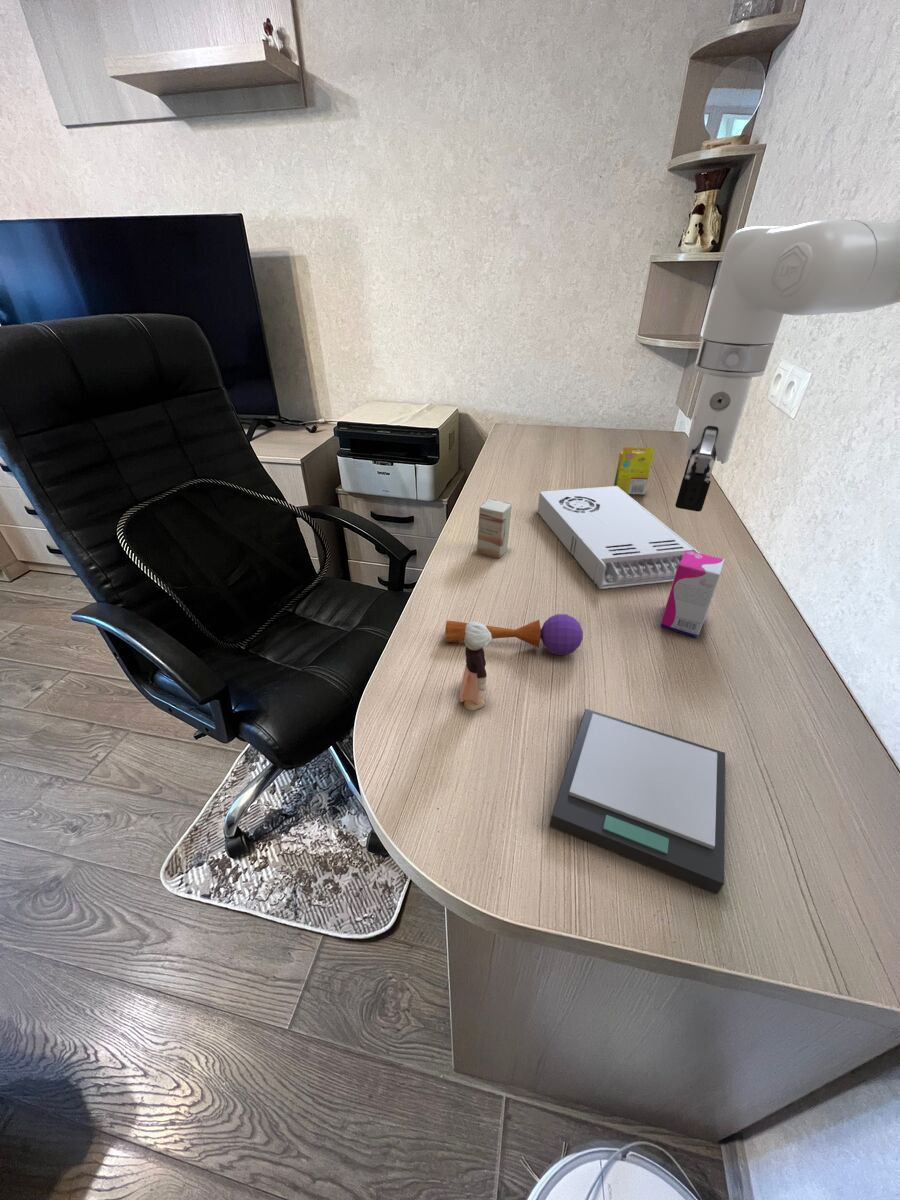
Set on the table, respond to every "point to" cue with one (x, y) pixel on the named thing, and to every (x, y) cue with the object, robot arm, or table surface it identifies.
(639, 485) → the crayon box
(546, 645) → the kendama
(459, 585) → the table surface
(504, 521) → the medicine carton
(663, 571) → the power supply unit
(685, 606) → the supplement box
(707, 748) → the scale
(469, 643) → the grandmother figurine
